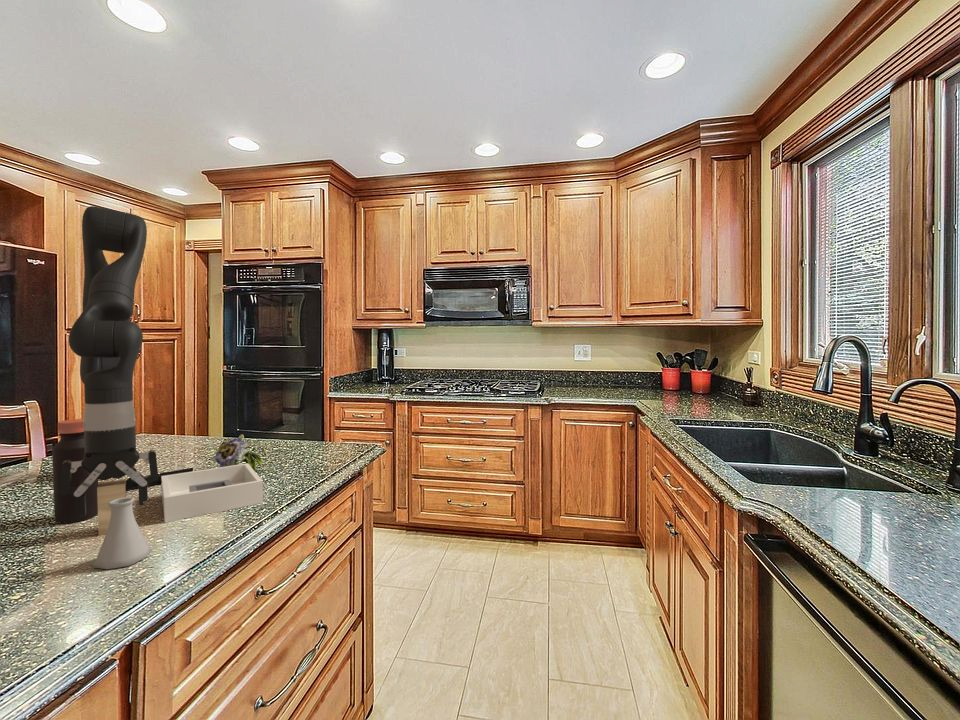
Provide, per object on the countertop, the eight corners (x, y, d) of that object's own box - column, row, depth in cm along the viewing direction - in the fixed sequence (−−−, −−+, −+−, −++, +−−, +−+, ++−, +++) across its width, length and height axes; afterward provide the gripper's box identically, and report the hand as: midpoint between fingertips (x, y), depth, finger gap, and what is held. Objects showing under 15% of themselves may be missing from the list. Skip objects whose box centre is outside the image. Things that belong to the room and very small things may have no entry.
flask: (116, 550, 76) (114, 493, 76) (160, 548, 77) (158, 492, 76) (82, 571, 69) (79, 509, 69) (131, 570, 70) (129, 508, 69)
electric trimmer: (195, 480, 116) (195, 468, 116) (120, 494, 105) (120, 481, 105) (191, 477, 119) (191, 465, 119) (117, 490, 107) (117, 478, 107)
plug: (100, 528, 85) (98, 482, 84) (126, 523, 87) (125, 479, 87) (98, 536, 82) (97, 488, 81) (126, 530, 84) (124, 484, 84)
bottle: (107, 510, 94) (104, 417, 93) (84, 523, 87) (81, 423, 87) (71, 512, 93) (67, 418, 92) (45, 525, 86) (41, 424, 85)
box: (161, 497, 102) (161, 476, 102) (248, 482, 113) (247, 463, 113) (164, 522, 88) (164, 498, 87) (263, 502, 99) (262, 480, 98)
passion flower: (226, 493, 121) (198, 458, 120) (254, 474, 131) (229, 442, 130) (251, 473, 117) (223, 438, 117) (278, 456, 128) (252, 423, 127)
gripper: (156, 418, 91) (158, 496, 91) (61, 426, 82) (65, 512, 83) (157, 424, 85) (159, 506, 86) (55, 433, 76) (58, 525, 77)
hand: (113, 509), depth 84 cm, fingers open, 8 cm apart
